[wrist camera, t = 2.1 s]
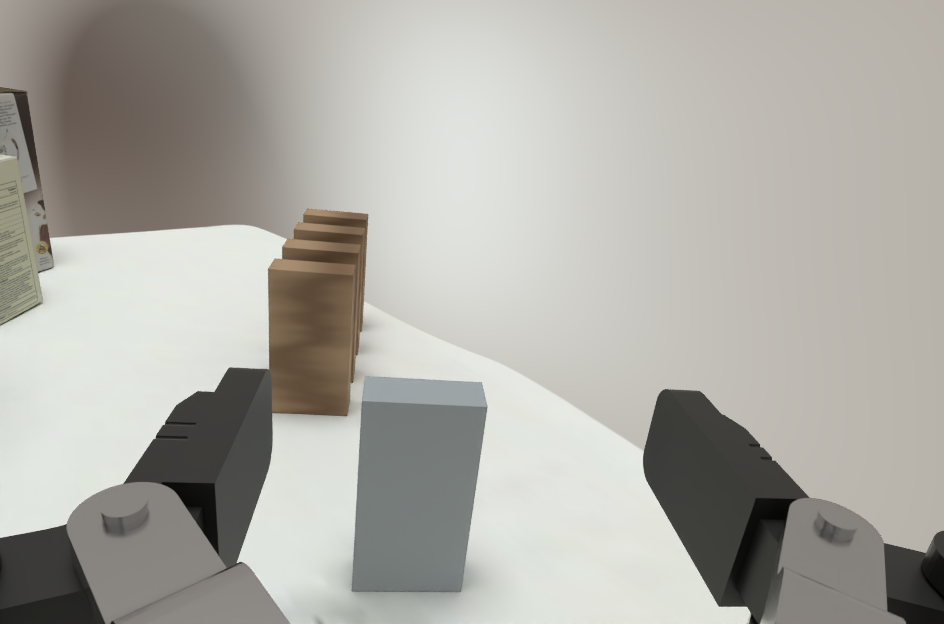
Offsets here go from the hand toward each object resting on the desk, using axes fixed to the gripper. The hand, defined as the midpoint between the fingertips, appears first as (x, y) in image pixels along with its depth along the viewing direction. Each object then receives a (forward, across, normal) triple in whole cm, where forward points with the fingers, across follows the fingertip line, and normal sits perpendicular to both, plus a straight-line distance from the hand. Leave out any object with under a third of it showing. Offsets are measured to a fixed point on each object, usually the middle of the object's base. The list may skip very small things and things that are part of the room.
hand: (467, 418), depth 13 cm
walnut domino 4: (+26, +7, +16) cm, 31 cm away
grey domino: (+12, 0, +16) cm, 20 cm away
